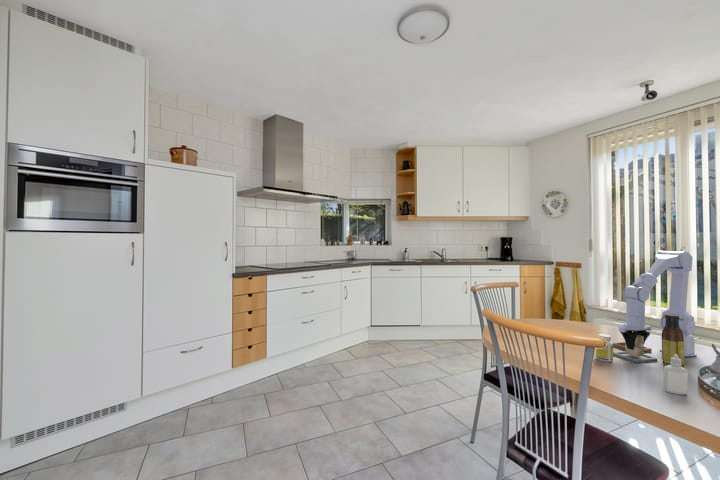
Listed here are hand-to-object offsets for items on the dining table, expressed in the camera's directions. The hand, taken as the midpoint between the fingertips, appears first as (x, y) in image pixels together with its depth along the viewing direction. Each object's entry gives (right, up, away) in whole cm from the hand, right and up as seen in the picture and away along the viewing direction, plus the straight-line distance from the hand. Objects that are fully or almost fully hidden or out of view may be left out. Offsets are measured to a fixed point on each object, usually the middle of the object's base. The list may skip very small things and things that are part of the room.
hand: (634, 348), depth 132 cm
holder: (+8, -4, +11) cm, 14 cm away
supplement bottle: (-14, -4, -2) cm, 15 cm away
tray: (0, -4, 0) cm, 4 cm away
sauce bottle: (+8, -4, -8) cm, 12 cm away
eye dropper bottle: (-12, -4, -29) cm, 32 cm away
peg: (0, -3, 0) cm, 3 cm away
